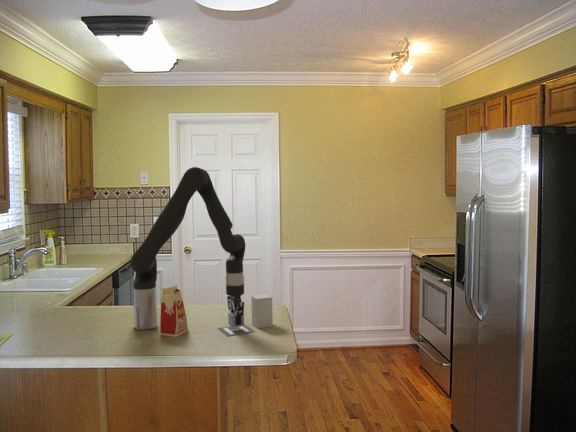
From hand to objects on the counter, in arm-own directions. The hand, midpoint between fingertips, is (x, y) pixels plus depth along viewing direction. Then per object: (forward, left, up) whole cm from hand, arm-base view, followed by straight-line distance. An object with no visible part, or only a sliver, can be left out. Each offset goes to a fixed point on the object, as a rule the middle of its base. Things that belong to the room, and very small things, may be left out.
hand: (236, 322), depth 217 cm
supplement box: (+12, +1, -3) cm, 13 cm away
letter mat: (0, 0, -3) cm, 3 cm away
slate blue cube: (0, 0, -1) cm, 1 cm away
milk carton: (-24, +10, -3) cm, 26 cm away
